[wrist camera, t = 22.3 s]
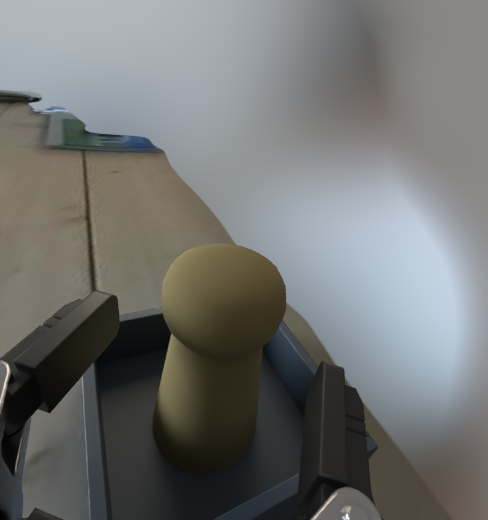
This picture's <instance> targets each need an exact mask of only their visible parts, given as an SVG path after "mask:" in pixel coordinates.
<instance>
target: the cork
mask: <svg viewBox="0 0 488 520" xmlns="http://www.w3.org/2000/svg"><path fill="white" fill-rule="evenodd" d="M285 310H286V289H285V284H284V282H283V279H282V277H281V275H280V273H279V271H278V269H277V267H276V266H275V265H274V264H273V263H272V262H271V261H269V260H268V259H267V258H265V257H264V256H262V255H260V254H259V253H257V252H255V251H253V250H250V249H248V248H245V247H242V246H238V245H232V244H209V245H202V246H197V247H195V248H192V249H190V250H187V251H186V252H184V253H183V254H182V255H181V256H179V257H178V258H177V259H176V260H175V261H174V263H173V264H172V265H171V266H170V268H169V270H168V272H167V274H166V276H165V278H164V281H163V284H162V313H163V316H164V319H165V321H166V323H167V325H168V328H169V330H170V332H171V338H170V342H169V347H168V351H167V355H166V360H165V364H164V369H163V373H162V377H161V382H160V386H159V390H158V395H157V399H156V404H155V408H154V412H153V431H152V432H153V435H154V438H155V441H156V444H157V447H158V449H159V451H160V452H161V453H162V454H163V456H164V457H165V458H166V459H167V461H168V462H169V463H171V464H172V465H174V466H176V467H177V468H179V469H181V470H182V471H184V472H188V473H194V474H200V475H207V474H212V473H217V472H222V471H224V470H225V469H227V468H229V467H230V466H232V465H234V464H235V463H237V462H238V461H239V460H240V459H241V457H242V456H243V455H244V454H245V453H246V451H247V450H248V449H249V447H250V444H251V442H252V439H253V437H254V434H255V427H256V416H257V405H258V395H259V384H260V373H261V362H262V351H263V346H264V345H265V344H267V343H268V342H269V341H270V340H271V339H272V337H273V336H274V335H275V333H276V332H277V330H278V328H279V326H280V324H281V321H282V319H283V316H284V313H285Z"/></svg>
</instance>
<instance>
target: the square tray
mask: <svg viewBox="0 0 488 520" xmlns="http://www.w3.org/2000/svg"><path fill="white" fill-rule="evenodd" d="M119 320H120V327H119V330H118V333H117V335H116V337H115V338H114V339H113V341H112V342H111V343H110V344H109V345H108V346H107V348H106V349H105V350H104V351H103V352H102V353H101V355H100V356H99V357H98V358H97V359H96V360H95V362H94V363H93V364H92V365H91V366H90V367H89V368H88V370H87V371H86V372H85V373H84V374H83V375H82V391H83V410H84V429H85V448H86V467H87V486H88V506H89V520H292V519H294V518H296V517H297V516H299V515H300V514H302V513H304V512H302V511H299V510H297V509H296V507H297V495H298V484H299V473H300V462H301V451H302V439H303V428H304V417H305V406H306V399H307V394H308V390H309V387H310V385H311V383H312V381H313V378H314V376H315V374H316V372H317V370H318V366H317V365H316V364H315V362H314V361H313V360H312V359H311V357H310V356H309V355H308V353H307V352H306V351H305V349H304V348H303V347H302V345H301V344H300V343H299V341H298V340H297V339H296V337H295V336H294V335H293V334H292V332H291V331H290V330H289V328H288V327H287V326H286V324H285V323H284V322H283V320H282V321H281V324H280V326H279V328H278V330H277V332H276V333H275V335H274V336H273V337H272V339H271V340H270V341H269V342H268V343H267V344H265V345H264V346H263V351H262V362H261V373H260V384H259V395H258V405H257V416H256V427H255V434H254V437H253V439H252V442H251V444H250V447H249V449H248V450H247V451H246V453H245V454H244V455H243V456H242V457H241V459H240V460H239V461H238V462H237V463H235V464H234V465H232V466H230V467H229V468H227V469H225V470H224V471H222V472H217V473H212V474H207V475H200V474H194V473H188V472H184V471H182V470H181V469H179V468H177V467H176V466H174V465H172V464H171V463H169V462H168V461H167V459H166V458H165V457H164V456H163V454H162V453H161V452H160V451H159V449H158V447H157V444H156V441H155V438H154V435H153V432H152V431H153V412H154V408H155V404H156V399H157V395H158V390H159V386H160V382H161V377H162V373H163V369H164V364H165V360H166V355H167V351H168V347H169V342H170V338H171V332H170V330H169V328H168V325H167V323H166V321H165V319H164V316H163V313H162V307H161V308H156V309H150V310H145V311H140V312H134V313H129V314H124V315H119ZM365 437H366V440H367V452H368V459H369V458H370V457H371V456H372V454H373V453H374V452H375V451H376V449H377V448H378V446H377V444H376V443H375V442H374V440H373V439H372V438H371V436H369V434H368V432H367V431H366V435H365Z"/></svg>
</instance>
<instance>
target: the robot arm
mask: <svg viewBox="0 0 488 520" xmlns="http://www.w3.org/2000/svg"><path fill="white" fill-rule="evenodd" d="M119 327H120V320H119V309H118V299H117V297H116V296H115V295H111V294H108V293H105V292H102V291H99V290H96V291H94V292H92V293H91V294H90V295H89V296H87V297H86V298H85V299H84V300H81V299H78V300H76V301H74V302H71V303H69V304H67V305H65V306H63V307H62V308H61V309H60V310H59V311H57V312H56V313H55V314H54V315H53V316H52V318H51V317H50V318H49V319H48V320H46V321H45V322H44V323H43V325H42V326H41V325H40V326H39V327H38V328H37V329H35V330H34V331H33V332H32V333H31V334H29V335H28V336H27V337H26V338H24V339H23V340H22V341H21V342H20V343H18V344H17V345H16V346H15V347H13V348H12V349H11V350H10V351H9V352H7V353H6V354H5V355H4V356H2V357H1V358H0V520H63V519H60V518H58V517H56V516H53V515H51V514H49V513H46V512H44V511H42V510H40V509H37V508H35V509H34V510H33V512H32V513H31V514H30V516H29V517H28V518H22V510H23V494H22V474H23V467H24V461H25V455H26V449H27V442H28V436H29V430H30V423H31V418H30V417H31V416H32V415H33V414H34V412H35V411H36V410H37V409H40V410H42V411H45V412H47V413H50V412H51V411H52V410H53V409H54V408H55V407H56V406H57V404H58V403H59V402H60V401H61V400H62V399H63V397H64V396H65V395H66V394H67V393H68V392H69V390H70V389H71V388H72V387H73V386H74V385H75V384H76V382H77V381H78V380H79V379H80V378H81V377H82V375H83V374H84V373H85V372H86V371H87V370H88V368H89V367H90V366H91V365H92V364H93V363H94V362H95V360H96V359H97V358H98V357H99V356H100V355H101V353H102V352H103V351H104V350H105V349H106V348H107V346H108V345H109V344H110V343H111V342H112V341H113V339H114V338H115V337H116V335H117V333H118V330H119ZM364 421H365V418H364V407H363V403H362V401H361V398H360V396H359V394H358V393H357V390H356V388H353V387H350V386H346V385H345V375H344V369H343V368H342V367H339V366H336V365H333V364H329V363H326V362H323V361H322V362H321V363H320V365H319V367H318V370H317V372H316V374H315V376H314V378H313V381H312V383H311V385H310V387H309V390H308V394H307V399H306V406H305V417H304V428H303V439H302V451H301V462H300V473H299V484H298V495H297V507H296V509H297V510H299V511H302V512H304V513H306V520H383V519H382V517H381V515H380V514H379V512H378V510H377V508H376V506H375V503H374V501H373V497H372V493H371V485H370V474H369V463H368V452H367V440H366V437H365V435H366V429H365V423H364Z"/></svg>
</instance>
